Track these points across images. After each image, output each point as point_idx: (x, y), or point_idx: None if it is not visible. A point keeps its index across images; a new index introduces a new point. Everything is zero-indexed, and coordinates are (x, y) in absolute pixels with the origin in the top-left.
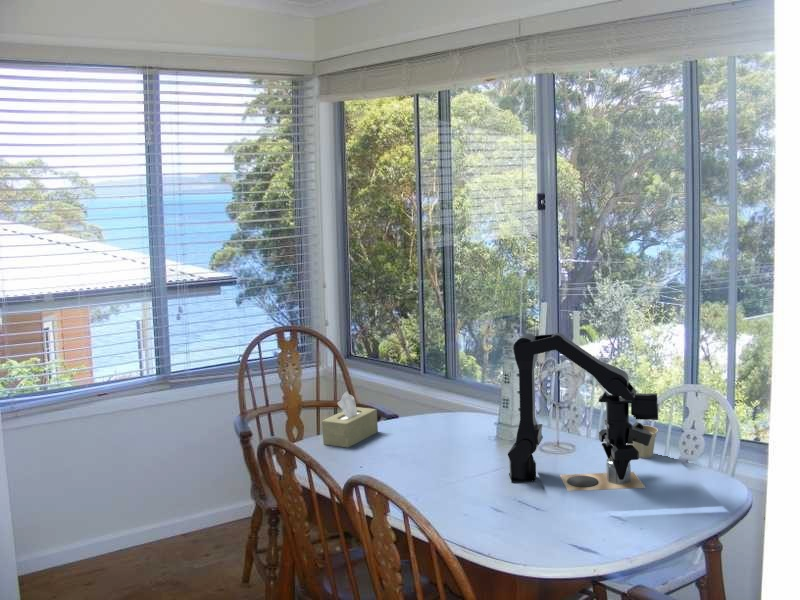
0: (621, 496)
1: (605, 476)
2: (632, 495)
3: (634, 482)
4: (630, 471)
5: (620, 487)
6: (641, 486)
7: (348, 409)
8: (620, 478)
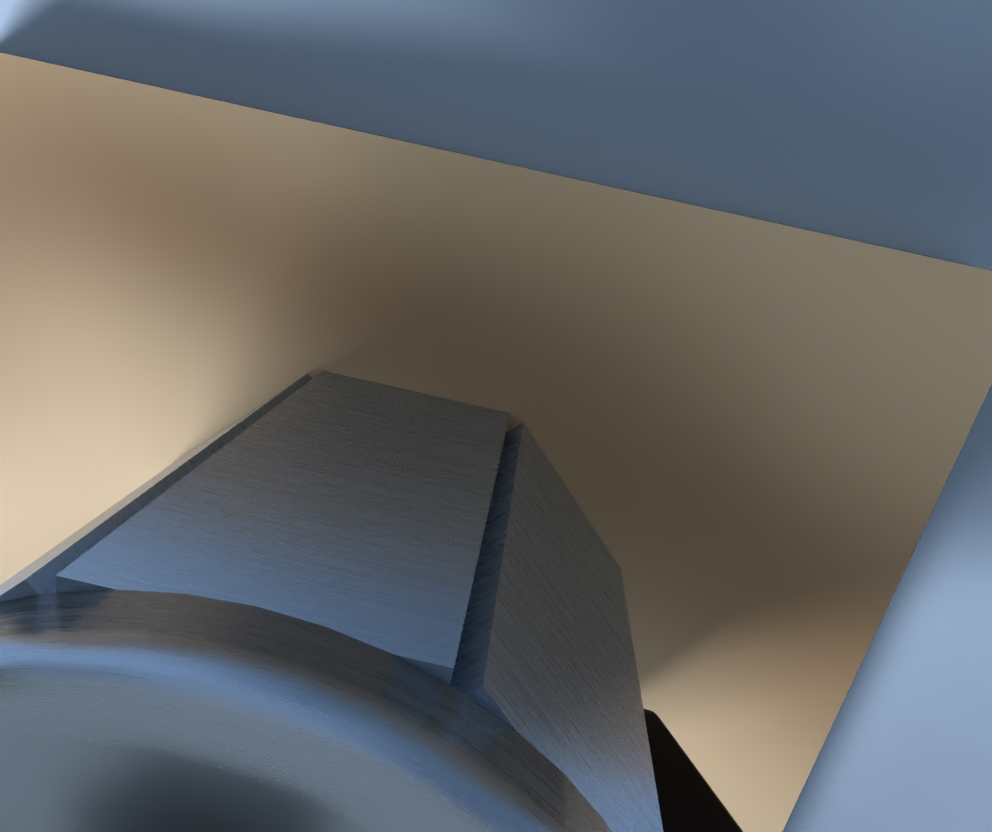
0: (920, 754)
1: None
2: (981, 586)
3: (612, 372)
4: (502, 535)
5: (756, 745)
6: (926, 351)
7: None
8: None
